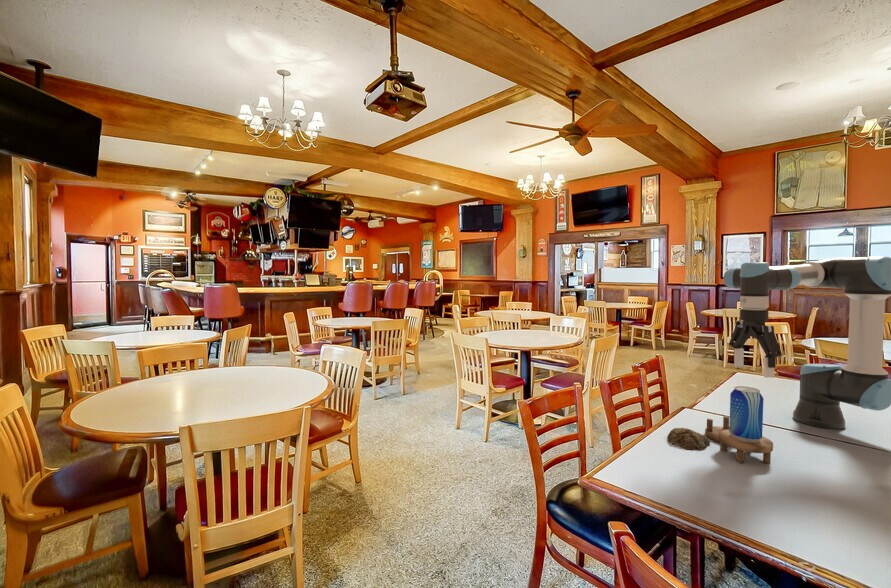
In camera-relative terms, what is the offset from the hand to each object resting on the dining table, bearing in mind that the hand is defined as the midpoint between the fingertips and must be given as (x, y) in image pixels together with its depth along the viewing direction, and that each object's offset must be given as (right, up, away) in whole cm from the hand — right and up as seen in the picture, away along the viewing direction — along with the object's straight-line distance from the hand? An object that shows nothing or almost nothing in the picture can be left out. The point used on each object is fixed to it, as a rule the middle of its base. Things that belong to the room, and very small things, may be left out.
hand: (753, 372), depth 133 cm
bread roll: (-19, -26, +6) cm, 33 cm away
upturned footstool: (-2, -26, +9) cm, 27 cm away
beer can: (-7, -20, -6) cm, 22 cm away
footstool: (-7, -26, -5) cm, 27 cm away
